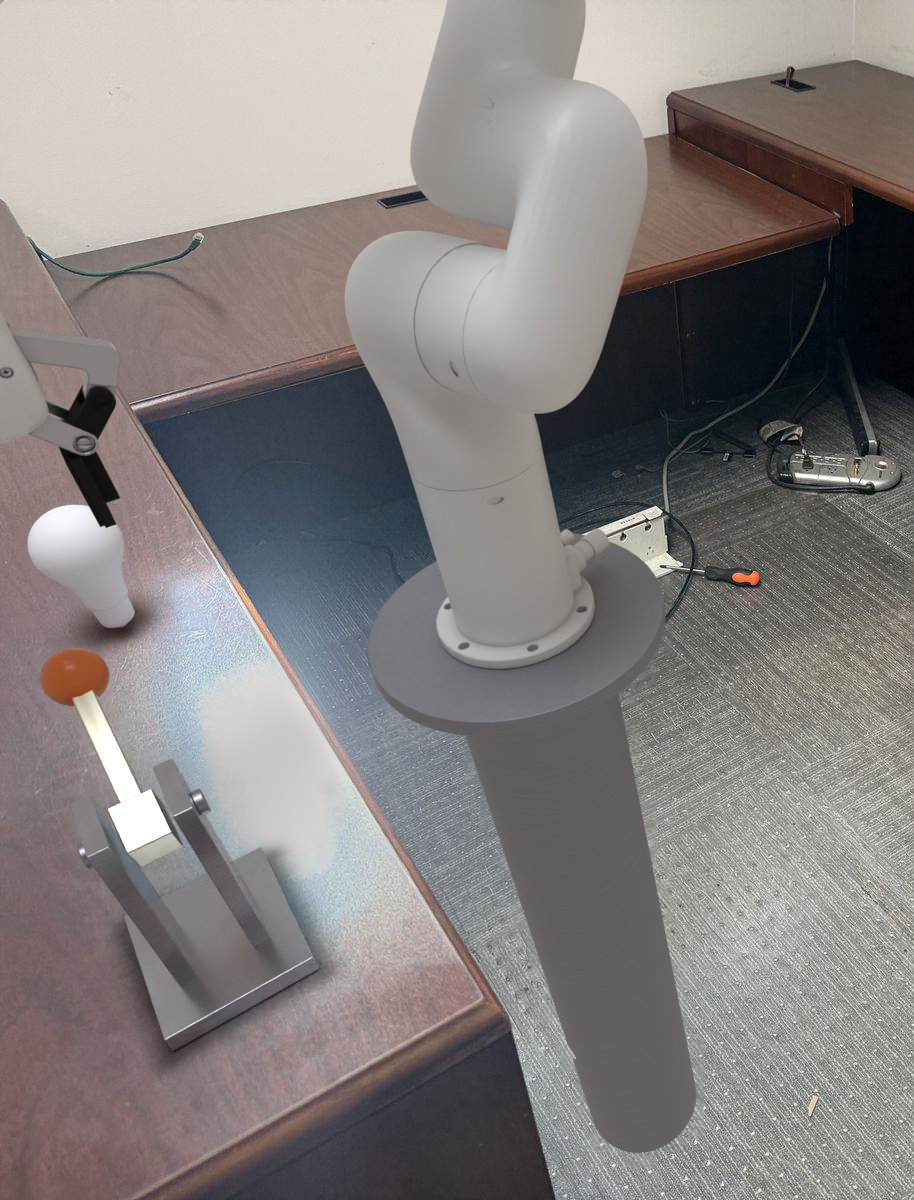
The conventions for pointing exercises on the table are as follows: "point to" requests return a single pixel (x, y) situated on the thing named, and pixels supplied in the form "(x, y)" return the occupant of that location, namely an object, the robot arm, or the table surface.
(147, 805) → the lever
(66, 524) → the lightbulb
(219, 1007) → the bracket
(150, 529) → the table surface
